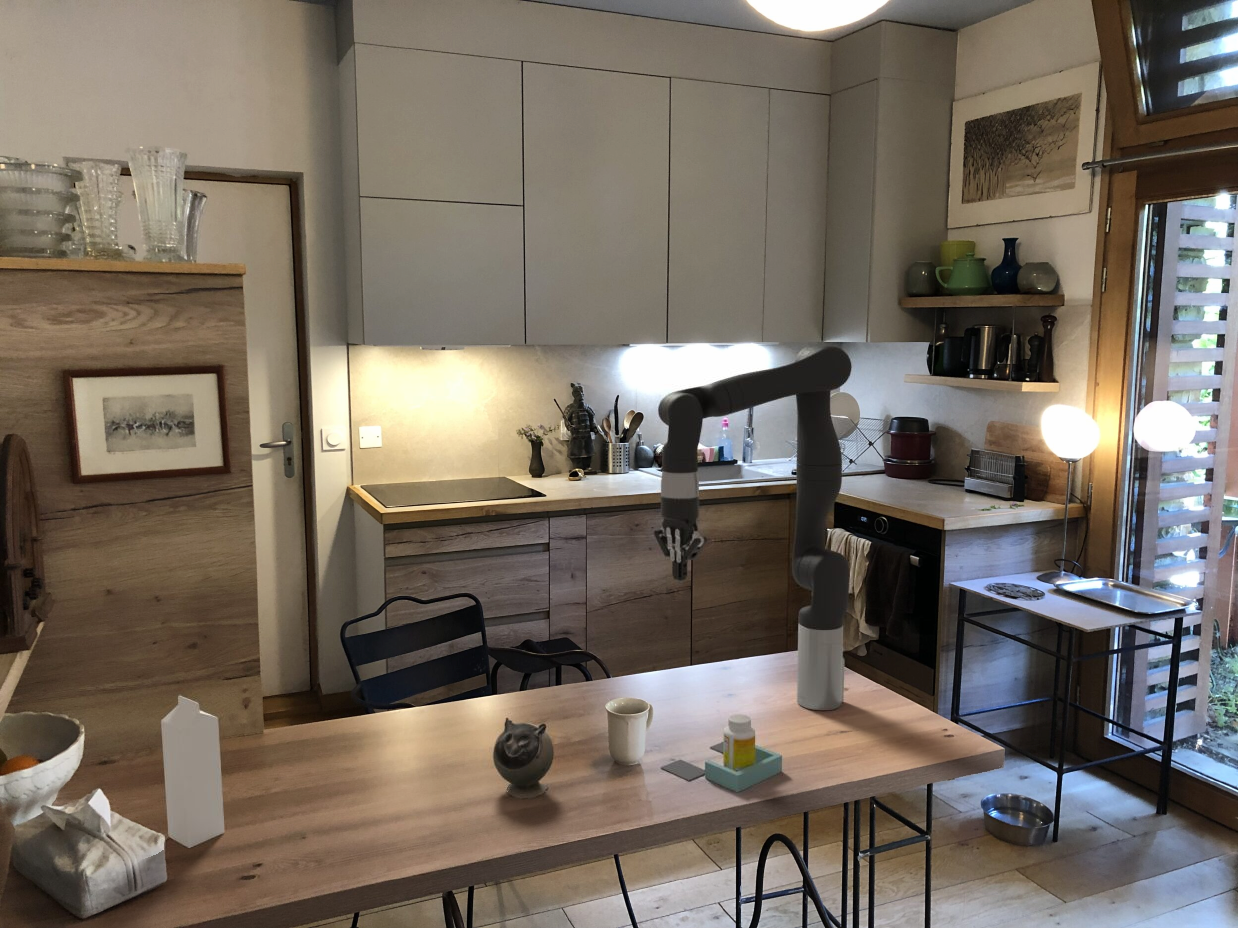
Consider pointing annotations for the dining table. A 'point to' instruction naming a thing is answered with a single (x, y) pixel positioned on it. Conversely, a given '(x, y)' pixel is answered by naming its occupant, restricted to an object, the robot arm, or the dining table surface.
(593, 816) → the dining table surface
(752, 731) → the supplement bottle
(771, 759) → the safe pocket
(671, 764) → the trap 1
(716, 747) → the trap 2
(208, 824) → the milk
